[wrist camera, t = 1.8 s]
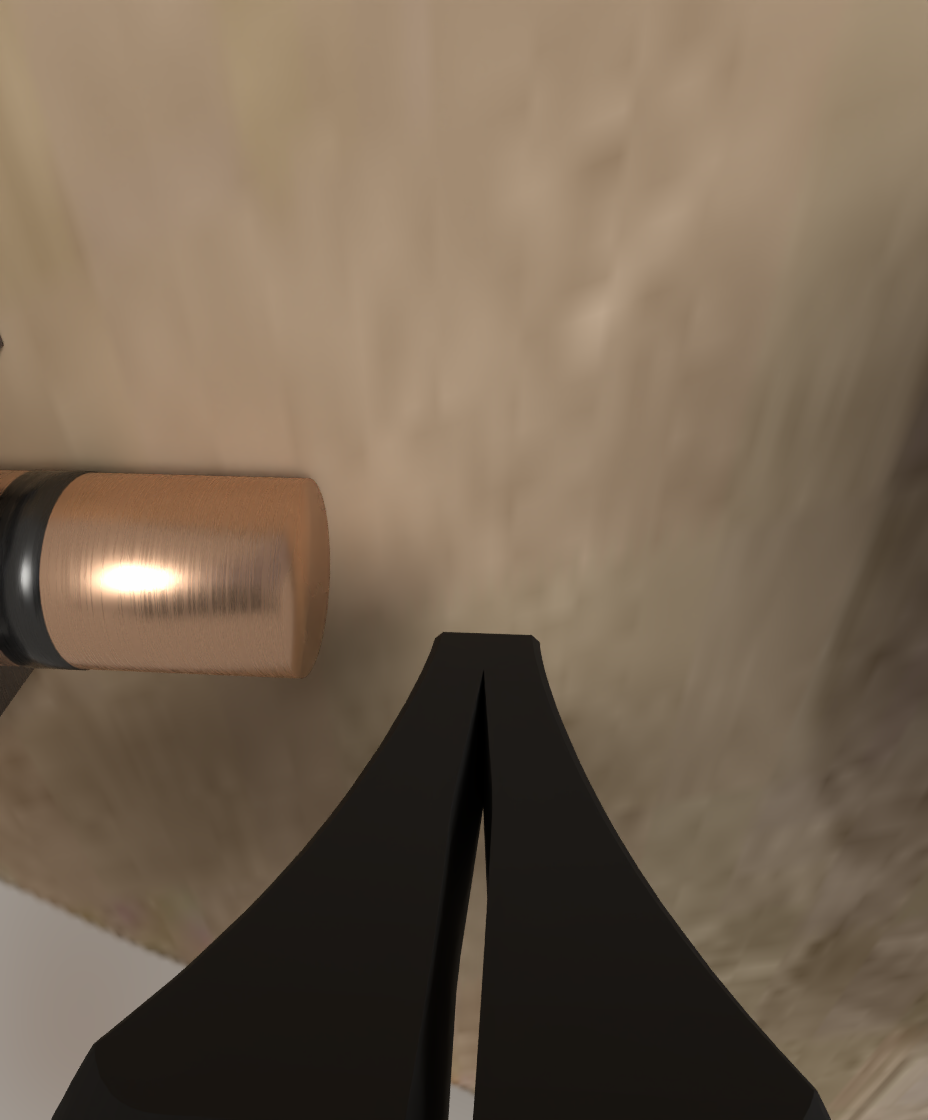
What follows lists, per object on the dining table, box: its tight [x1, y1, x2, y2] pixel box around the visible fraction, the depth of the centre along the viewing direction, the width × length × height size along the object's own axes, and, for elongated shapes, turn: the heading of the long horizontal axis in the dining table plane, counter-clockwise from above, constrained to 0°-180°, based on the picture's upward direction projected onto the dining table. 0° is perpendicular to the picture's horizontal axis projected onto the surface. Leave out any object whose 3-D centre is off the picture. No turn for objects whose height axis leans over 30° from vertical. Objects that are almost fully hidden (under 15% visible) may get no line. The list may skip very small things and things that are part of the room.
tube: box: [0, 470, 330, 678], centre depth 16 cm, size 9×4×4 cm, turn 91°
